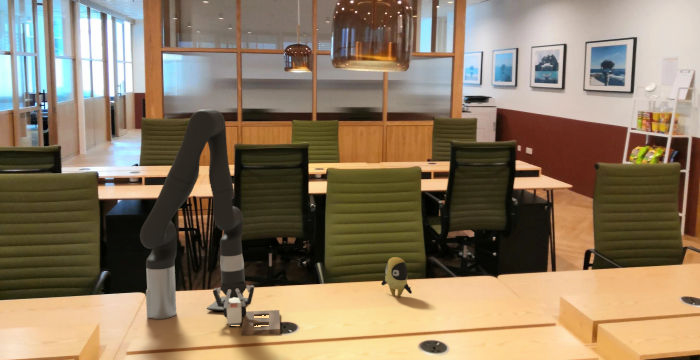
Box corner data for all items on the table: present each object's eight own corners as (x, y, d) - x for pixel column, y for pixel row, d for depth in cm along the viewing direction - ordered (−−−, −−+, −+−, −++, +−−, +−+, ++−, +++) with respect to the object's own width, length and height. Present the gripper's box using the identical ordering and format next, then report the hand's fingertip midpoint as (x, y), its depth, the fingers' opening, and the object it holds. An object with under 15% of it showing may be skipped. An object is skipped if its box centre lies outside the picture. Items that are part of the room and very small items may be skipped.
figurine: (403, 303, 218) (404, 263, 216) (373, 293, 230) (373, 255, 228) (419, 298, 224) (419, 259, 222) (388, 289, 235) (389, 251, 234)
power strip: (227, 328, 194) (226, 307, 194) (230, 315, 206) (229, 295, 205) (241, 327, 195) (240, 306, 194) (243, 314, 207) (242, 295, 206)
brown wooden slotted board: (241, 335, 188) (241, 330, 188) (244, 315, 206) (244, 311, 206) (280, 333, 190) (280, 328, 190) (279, 314, 207) (279, 310, 207)
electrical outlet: (235, 315, 208) (235, 308, 207) (206, 313, 210) (206, 307, 209) (248, 303, 220) (248, 297, 220) (222, 301, 222) (221, 295, 222)
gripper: (209, 272, 194) (212, 323, 196) (253, 268, 196) (257, 319, 198) (211, 266, 201) (214, 315, 203) (254, 263, 203) (257, 312, 205)
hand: (235, 317), depth 200 cm, fingers closed on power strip, 4 cm apart
